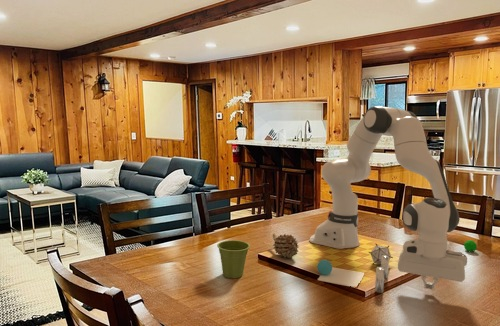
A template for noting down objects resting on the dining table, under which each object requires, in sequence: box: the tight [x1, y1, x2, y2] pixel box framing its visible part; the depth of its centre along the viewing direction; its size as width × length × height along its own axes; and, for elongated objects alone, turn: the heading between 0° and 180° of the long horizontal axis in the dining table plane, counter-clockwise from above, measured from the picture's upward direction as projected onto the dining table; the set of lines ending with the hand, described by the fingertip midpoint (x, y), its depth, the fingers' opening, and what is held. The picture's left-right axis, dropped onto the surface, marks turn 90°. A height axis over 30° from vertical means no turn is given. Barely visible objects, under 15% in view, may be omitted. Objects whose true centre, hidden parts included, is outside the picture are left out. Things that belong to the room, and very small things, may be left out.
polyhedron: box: [463, 239, 478, 253], centre depth 174 cm, size 5×5×5 cm
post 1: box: [374, 266, 385, 294], centre depth 133 cm, size 3×3×8 cm
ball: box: [316, 259, 333, 275], centre depth 146 cm, size 6×6×6 cm
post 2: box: [380, 255, 390, 280], centre depth 144 cm, size 3×3×8 cm
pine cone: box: [272, 233, 300, 259], centre depth 167 cm, size 22×10×10 cm, turn 22°
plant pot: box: [216, 239, 251, 279], centre depth 145 cm, size 12×12×11 cm
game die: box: [368, 243, 394, 265], centre depth 157 cm, size 9×8×10 cm
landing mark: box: [317, 266, 365, 288], centre depth 145 cm, size 14×14×1 cm
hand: (429, 288), depth 132 cm, fingers closed
